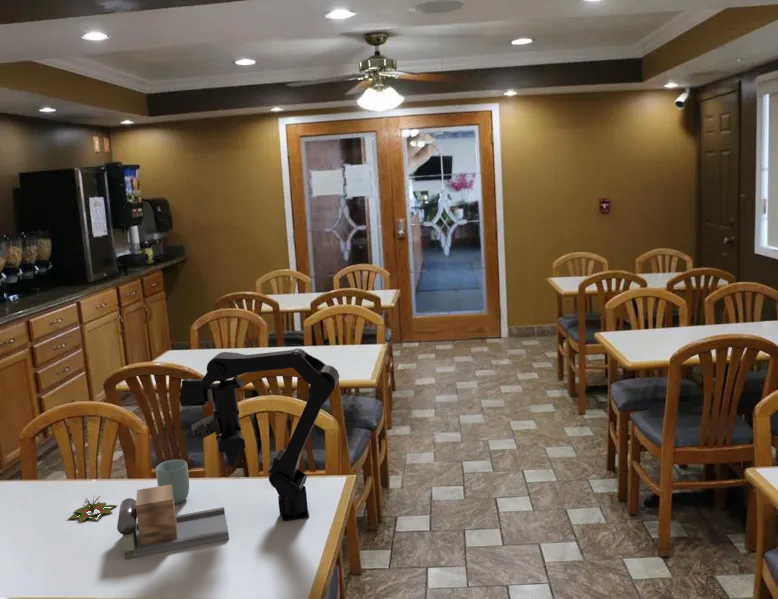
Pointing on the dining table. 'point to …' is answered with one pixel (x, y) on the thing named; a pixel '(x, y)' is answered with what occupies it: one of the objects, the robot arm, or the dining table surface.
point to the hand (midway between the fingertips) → (232, 466)
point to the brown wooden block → (156, 515)
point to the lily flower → (92, 507)
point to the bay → (189, 530)
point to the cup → (174, 478)
